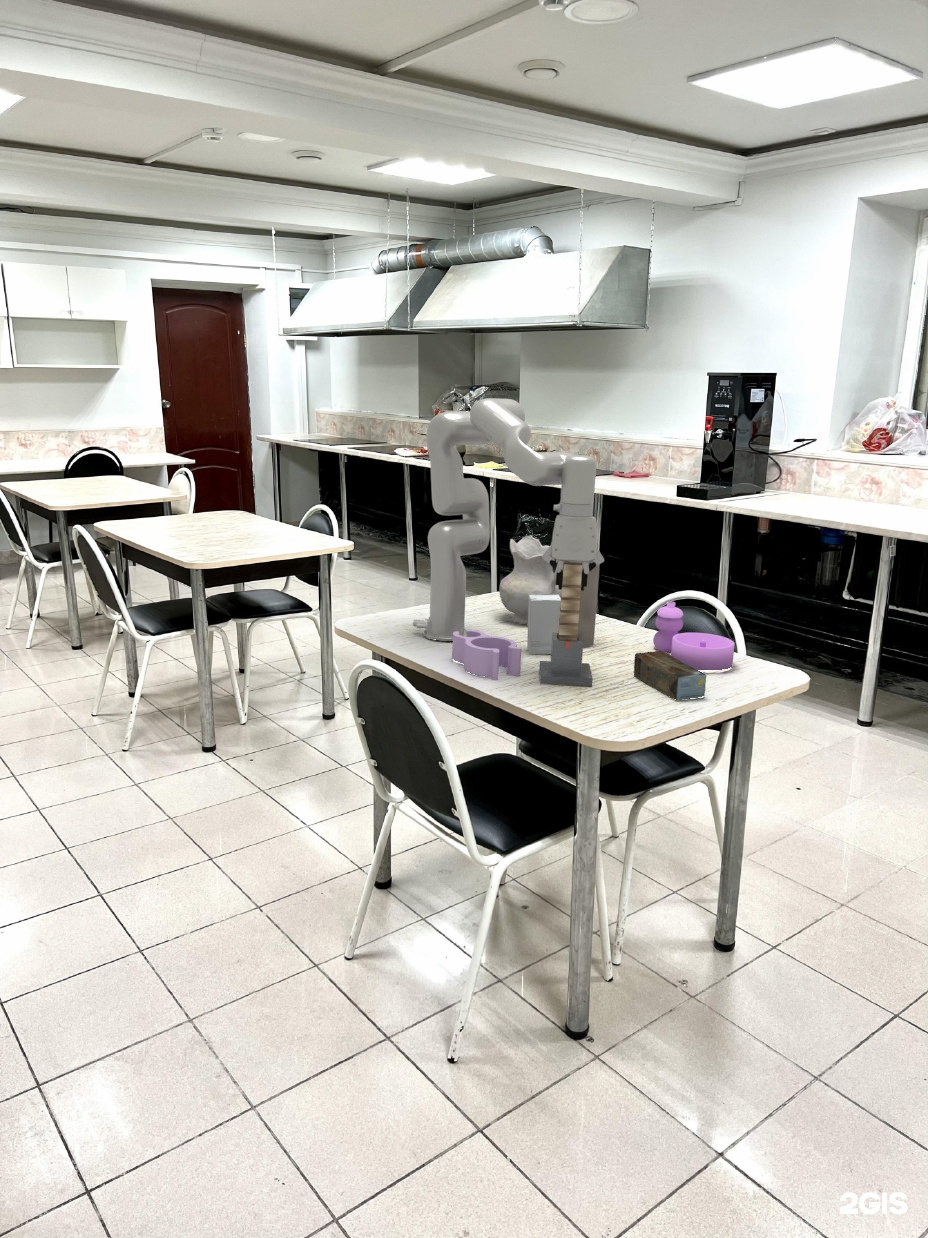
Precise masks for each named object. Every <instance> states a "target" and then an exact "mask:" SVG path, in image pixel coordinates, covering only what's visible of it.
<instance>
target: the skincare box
mask: <svg viewBox="0 0 928 1238" xmlns="http://www.w3.org/2000/svg"><path fill="white" fill-rule="evenodd" d="M560 603H561V598H560V597H559V595H529V599H528V624H527V638H526V639H527V646H526V647H527V651H528V654H529V655H551V646H552V632H555V633H558V630H559V618H560Z"/></svg>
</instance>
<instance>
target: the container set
mask: <svg viewBox="0 0 928 1238" xmlns="http://www.w3.org/2000/svg"><path fill="white" fill-rule="evenodd" d="M656 613H657V617H656V619H655V622H654V624H655V627H656V629H658V631H656V633H655V634H654V636H653V640H652V641H653V642H652V643H653V645H654V647H655V649H656V651H658V650H659V651H663V652H665V653H667V652H671V653H670V655H671V656H673V657H675V658H676V659H678V660H680V661H682V662H684V663H686V664H687V665H689V666H691V667H693V668H695V669H696V670H722V669H728V668H730V667H732V668H733V662H734V654H735V645H736V644H735V642H734V641H733V640H732V639H731V638H729V637H728V638H727V637H725V636H722V635H717V634H712V633H706V632H705V633H704V632H682V633H680V631H681V630H682V629H683V628H684V627H683V626H684V621H683V619H682V618H683V616H684V613H683V610H682V609H680V608H679V607H676V602H674V601H666V605H665V606H662V607H660V608H658V609H657V612H656Z"/></svg>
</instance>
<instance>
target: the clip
mask: <svg viewBox="0 0 928 1238" xmlns="http://www.w3.org/2000/svg"><path fill="white" fill-rule="evenodd" d="M466 630H467V632H466V637H465V636H461V635H460V632H457V631H455V632H453V642H452V648H451V649H452V650H451V657H452V658H451V660H452V659H454V660H455V661H458V662H460V663H463V664H464V665H463V670H464V669H465V670H466V671H467V672H470V673H471V674H475V675H477V676H476V677H479V676H485V677H484V678H487V677H491V678H490V679H491V680H492V679H493V681H498V680H499V670H500V669H499V667H500V666H501V665H502V667H504V668H505V667H506V675H509V676H512V677H513V676H514V677H521V665H522V647H519V646H517V645H518V644H517V642H516V641H514V640H513V639H510V638H508V637H503V636H495V635H489V634H487V633H486V632H484V631H481V630H476V629H466ZM465 670H464V671H465ZM466 671H465V672H466ZM467 672H466V673H467ZM471 674H470V675H471ZM475 675H474V676H475Z"/></svg>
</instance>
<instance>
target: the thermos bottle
mask: <svg viewBox="0 0 928 1238" xmlns="http://www.w3.org/2000/svg"><path fill="white" fill-rule="evenodd" d="M596 558H597V557H596ZM596 558H595V560H596ZM593 561H594V560H593ZM572 562H579V561H572ZM591 562H592V561H591ZM591 562H588V564H590V563H591ZM581 563H582V562H581ZM582 570H583V564H582ZM599 579H600V564H599V565H597V566H596V567H595V568H594V569H592V570H591V571H590V572H589V573H588V577H587V587H584V591H581V592H580V606H579V610H580V612H579V620H578V622H579V626H578V634H582V637H583V648H589V647H594V645H595V644H594V642H595V634H596V633H595V632H596V631H595V630H596V618H597V617H596V616H597V606H598V605H597V604H598V590H599Z"/></svg>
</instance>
